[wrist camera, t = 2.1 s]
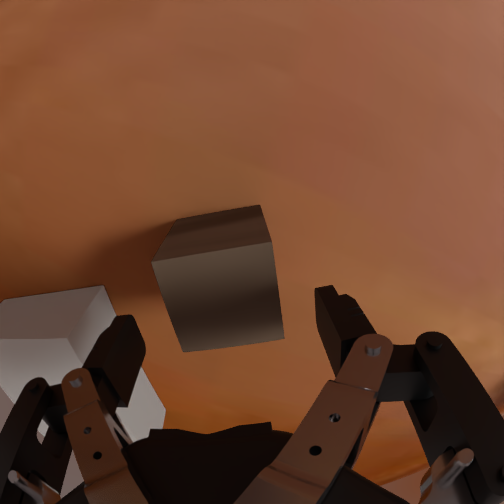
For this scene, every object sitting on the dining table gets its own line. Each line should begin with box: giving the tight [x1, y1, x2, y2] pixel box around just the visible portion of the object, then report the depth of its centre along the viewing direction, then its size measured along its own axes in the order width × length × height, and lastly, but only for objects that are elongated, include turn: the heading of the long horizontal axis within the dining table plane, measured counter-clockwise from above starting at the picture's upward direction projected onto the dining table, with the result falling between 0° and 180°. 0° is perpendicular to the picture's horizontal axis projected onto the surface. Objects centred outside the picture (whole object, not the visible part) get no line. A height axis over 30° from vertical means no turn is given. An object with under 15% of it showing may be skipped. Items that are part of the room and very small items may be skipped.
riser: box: [0, 285, 166, 450], centre depth 19 cm, size 14×12×6 cm
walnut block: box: [151, 205, 285, 352], centre depth 15 cm, size 5×5×6 cm
